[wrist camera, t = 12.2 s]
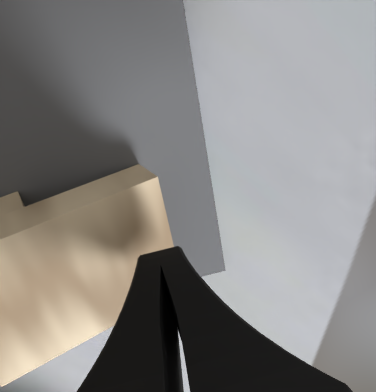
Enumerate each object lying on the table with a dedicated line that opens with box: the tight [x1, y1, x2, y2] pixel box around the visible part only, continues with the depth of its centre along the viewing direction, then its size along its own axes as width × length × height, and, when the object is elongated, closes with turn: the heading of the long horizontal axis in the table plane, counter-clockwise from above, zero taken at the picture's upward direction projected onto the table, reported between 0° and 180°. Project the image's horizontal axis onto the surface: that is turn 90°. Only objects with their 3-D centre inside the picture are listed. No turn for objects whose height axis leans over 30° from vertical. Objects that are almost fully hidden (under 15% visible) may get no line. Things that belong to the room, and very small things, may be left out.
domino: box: [0, 164, 174, 387], centre depth 13 cm, size 5×2×7 cm
